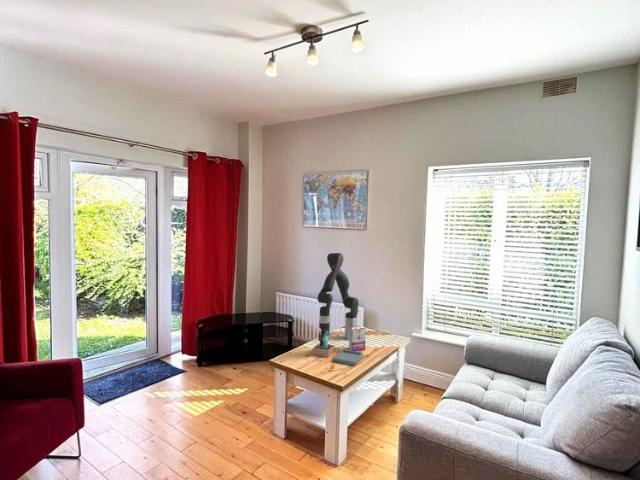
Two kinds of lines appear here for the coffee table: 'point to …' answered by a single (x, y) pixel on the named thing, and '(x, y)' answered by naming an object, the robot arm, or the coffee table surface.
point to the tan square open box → (323, 352)
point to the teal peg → (325, 343)
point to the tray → (348, 357)
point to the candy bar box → (357, 338)
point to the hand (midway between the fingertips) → (323, 344)
